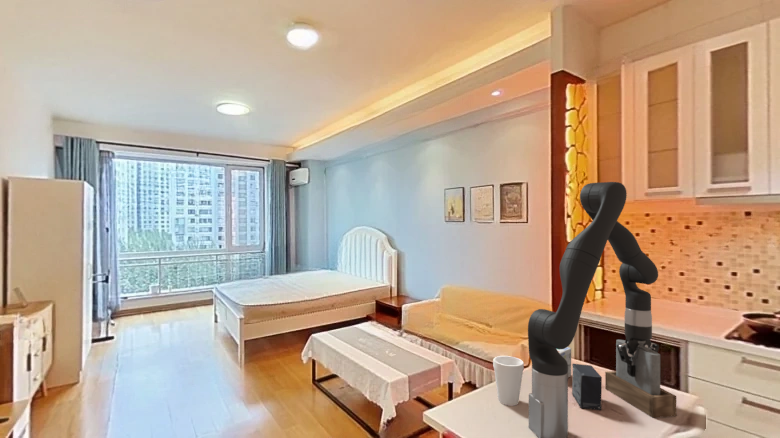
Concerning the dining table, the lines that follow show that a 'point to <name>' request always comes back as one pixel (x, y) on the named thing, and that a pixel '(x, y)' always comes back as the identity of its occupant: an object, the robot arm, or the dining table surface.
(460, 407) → the dining table surface
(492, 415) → the dining table surface
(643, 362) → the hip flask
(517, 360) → the foam cup
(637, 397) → the wooden open tray
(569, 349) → the light bulb box
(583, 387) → the small box
